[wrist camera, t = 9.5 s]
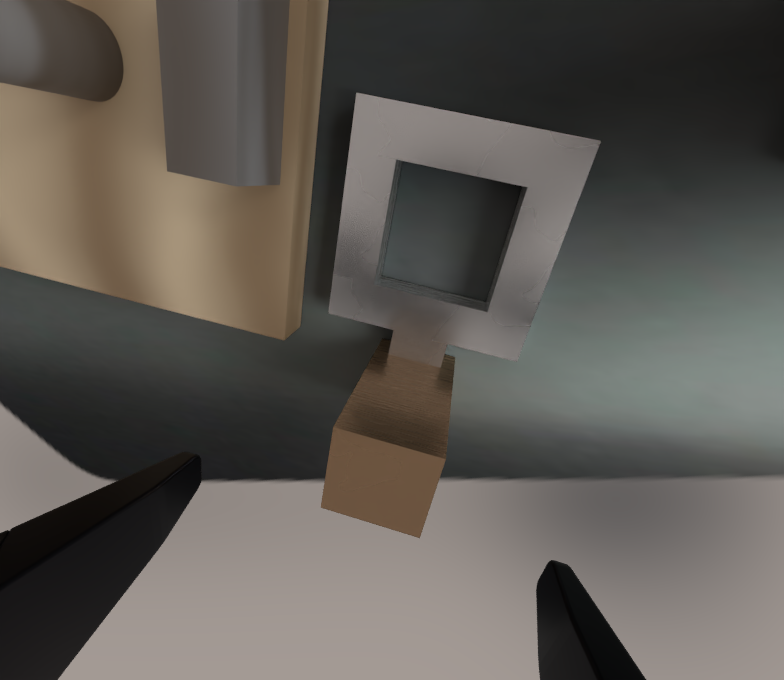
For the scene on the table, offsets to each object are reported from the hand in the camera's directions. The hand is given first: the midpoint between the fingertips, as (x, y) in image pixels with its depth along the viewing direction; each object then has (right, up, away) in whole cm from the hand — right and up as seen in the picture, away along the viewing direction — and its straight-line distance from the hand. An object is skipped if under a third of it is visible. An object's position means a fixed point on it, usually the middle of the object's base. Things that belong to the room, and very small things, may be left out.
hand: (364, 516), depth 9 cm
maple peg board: (-8, +12, +4) cm, 15 cm away
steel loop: (+2, +6, +5) cm, 8 cm away
